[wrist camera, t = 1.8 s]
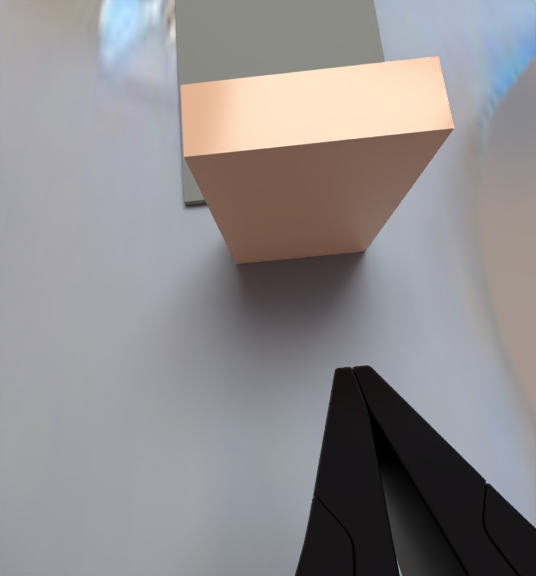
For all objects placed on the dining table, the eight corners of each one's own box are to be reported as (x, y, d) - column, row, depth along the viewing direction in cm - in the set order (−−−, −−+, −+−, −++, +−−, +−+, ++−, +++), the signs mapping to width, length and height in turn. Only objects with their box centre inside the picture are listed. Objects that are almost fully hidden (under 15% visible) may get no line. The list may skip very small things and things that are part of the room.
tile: (365, 251, 22) (454, 128, 11) (236, 264, 23) (183, 156, 11) (359, 211, 23) (437, 52, 11) (233, 224, 23) (180, 80, 11)
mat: (403, 182, 23) (405, 178, 23) (186, 205, 23) (184, 201, 23) (367, -19, 26) (368, -26, 26) (176, 3, 27) (174, -3, 26)
